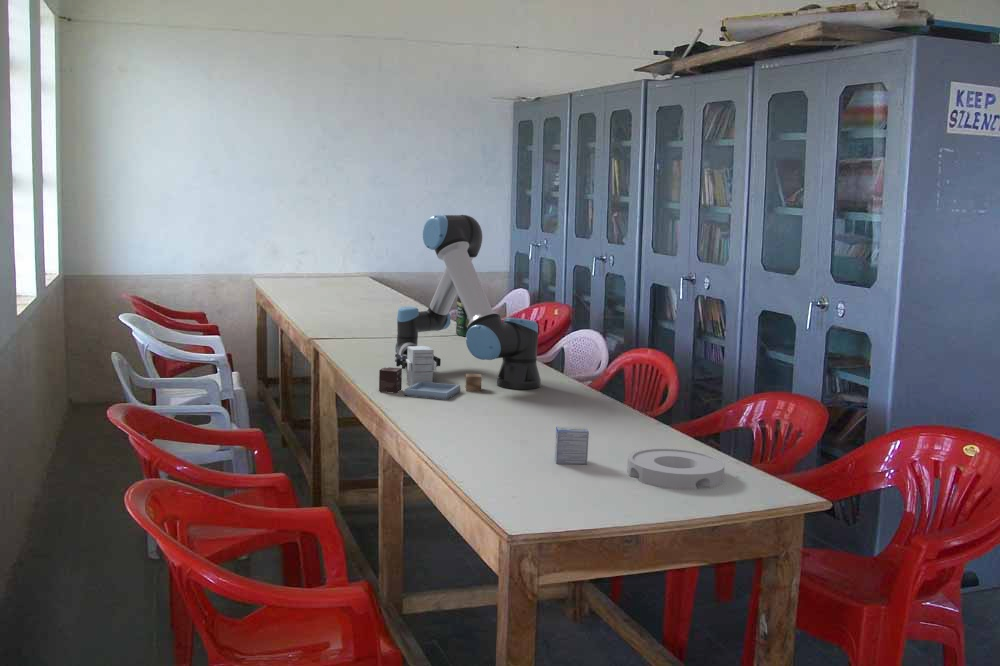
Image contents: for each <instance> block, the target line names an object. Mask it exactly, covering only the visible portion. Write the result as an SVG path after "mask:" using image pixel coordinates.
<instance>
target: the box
mask: <svg viewBox="0 0 1000 666" xmlns="http://www.w3.org/2000/svg"><path fill="white" fill-rule="evenodd" d="M378 375H379V376H378V382H379V383H378V392H379V391H380V393H388V392H393V394H397V393H399V392H400V391H402V390H401V389H402V384H403V383H402V379H403V378H402V377H403V369H402V367H390V366H388V367H386V366H385V367H381V369H379V374H378ZM398 391H399V392H398Z"/></svg>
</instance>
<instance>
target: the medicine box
mask: <svg viewBox="0 0 1000 666" xmlns="http://www.w3.org/2000/svg"><path fill="white" fill-rule="evenodd" d="M589 436H590V431H589V430H588V428H587V427H586V426H561V425H560V426H556V427H555V442H554V444H555V445H554V461H555V464H556V465H557V464H558V465H559V464H560V465H588V457H589V456H588V455H589V454H588V453H589V438H590V437H589Z"/></svg>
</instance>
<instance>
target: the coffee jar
mask: <svg viewBox="0 0 1000 666" xmlns="http://www.w3.org/2000/svg"><path fill="white" fill-rule="evenodd" d="M468 324H469V319H468V317H467V314H466V312H465V310H464V307H463V305H462V302H461V300H460V298H459V295H458V296H457V298H456V325H455V327H456V328H455V334H456V335H458V336H462V337H466V334H467V331H468V328H467V326H468Z"/></svg>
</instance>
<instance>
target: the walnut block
mask: <svg viewBox="0 0 1000 666" xmlns="http://www.w3.org/2000/svg"><path fill="white" fill-rule="evenodd" d="M482 378H483V377H482V374H481V373H465V385H464V386H465V387H464V388H466V389H465V392H482V381H483V379H482Z"/></svg>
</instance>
